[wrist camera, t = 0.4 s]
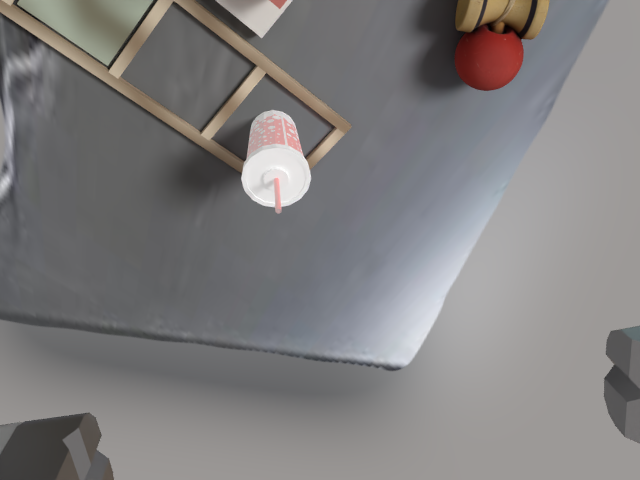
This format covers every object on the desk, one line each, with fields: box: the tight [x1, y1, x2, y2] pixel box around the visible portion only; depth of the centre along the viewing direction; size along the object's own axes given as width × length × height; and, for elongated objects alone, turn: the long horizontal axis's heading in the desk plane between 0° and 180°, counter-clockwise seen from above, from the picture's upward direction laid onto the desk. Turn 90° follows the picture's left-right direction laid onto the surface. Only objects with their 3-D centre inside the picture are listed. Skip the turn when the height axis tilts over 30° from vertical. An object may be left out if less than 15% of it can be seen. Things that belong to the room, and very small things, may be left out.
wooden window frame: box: [0, 0, 351, 173], centre depth 55 cm, size 11×31×1 cm, turn 48°
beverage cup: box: [241, 110, 311, 213], centre depth 54 cm, size 6×6×14 cm
